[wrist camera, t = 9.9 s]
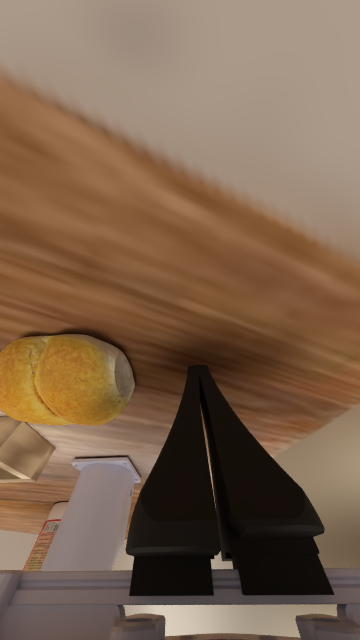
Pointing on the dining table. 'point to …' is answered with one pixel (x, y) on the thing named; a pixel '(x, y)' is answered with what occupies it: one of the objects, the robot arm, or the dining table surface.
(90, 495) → the robot arm
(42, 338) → the bread roll
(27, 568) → the fruit juice
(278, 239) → the dining table surface
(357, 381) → the dining table surface
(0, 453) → the organiser frame
